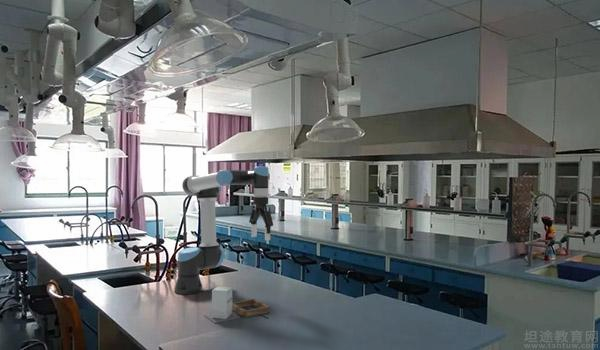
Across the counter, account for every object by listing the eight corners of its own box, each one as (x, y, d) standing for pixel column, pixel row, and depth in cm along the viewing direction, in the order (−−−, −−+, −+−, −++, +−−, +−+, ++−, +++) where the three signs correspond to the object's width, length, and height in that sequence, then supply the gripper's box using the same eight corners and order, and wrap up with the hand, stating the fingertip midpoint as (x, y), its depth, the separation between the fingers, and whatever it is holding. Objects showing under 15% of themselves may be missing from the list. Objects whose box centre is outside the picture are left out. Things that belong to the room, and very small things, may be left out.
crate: (230, 308, 199) (230, 303, 199) (254, 304, 206) (254, 298, 206) (244, 317, 186) (244, 311, 186) (269, 312, 194) (269, 306, 194)
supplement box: (226, 319, 182) (226, 290, 182) (211, 318, 184) (211, 289, 184) (232, 314, 189) (232, 286, 190) (217, 312, 191) (217, 285, 191)
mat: (204, 315, 188) (204, 315, 188) (228, 311, 195) (228, 310, 195) (215, 323, 178) (215, 322, 178) (239, 318, 185) (240, 317, 185)
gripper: (280, 197, 201) (280, 240, 201) (255, 195, 221) (255, 235, 221) (267, 197, 196) (266, 242, 196) (243, 195, 217) (242, 236, 217)
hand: (260, 238), depth 209 cm, fingers open, 13 cm apart
